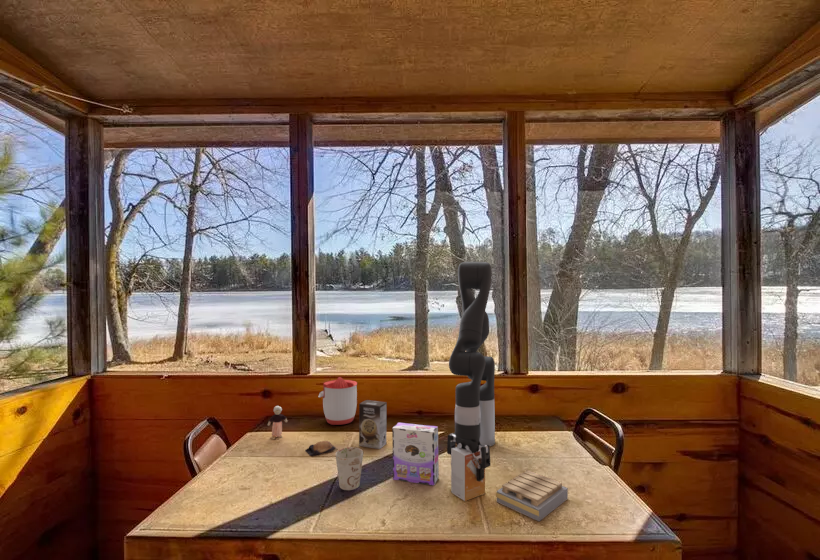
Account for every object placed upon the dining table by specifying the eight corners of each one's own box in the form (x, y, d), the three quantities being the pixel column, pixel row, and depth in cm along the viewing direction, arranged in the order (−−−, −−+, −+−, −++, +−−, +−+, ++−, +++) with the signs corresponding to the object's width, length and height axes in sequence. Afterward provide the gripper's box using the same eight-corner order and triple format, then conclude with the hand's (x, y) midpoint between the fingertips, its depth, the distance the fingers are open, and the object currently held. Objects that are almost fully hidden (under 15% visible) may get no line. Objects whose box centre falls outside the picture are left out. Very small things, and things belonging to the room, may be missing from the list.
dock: (495, 501, 112) (495, 491, 112) (526, 482, 123) (526, 472, 123) (538, 521, 103) (538, 510, 103) (567, 498, 114) (567, 488, 114)
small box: (465, 502, 112) (464, 455, 112) (450, 492, 117) (450, 448, 118) (486, 493, 117) (485, 449, 117) (471, 484, 122) (470, 442, 122)
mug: (340, 495, 116) (340, 460, 117) (328, 477, 127) (328, 445, 128) (367, 488, 120) (367, 454, 120) (353, 471, 131) (353, 440, 132)
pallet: (501, 491, 112) (501, 485, 112) (527, 474, 122) (527, 469, 122) (537, 506, 104) (537, 500, 104) (562, 487, 114) (562, 482, 114)
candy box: (439, 477, 127) (438, 425, 127) (434, 486, 121) (433, 432, 121) (398, 471, 131) (398, 421, 131) (392, 479, 125) (391, 427, 126)
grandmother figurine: (270, 440, 158) (270, 408, 158) (266, 438, 161) (266, 406, 161) (288, 436, 163) (288, 404, 163) (285, 433, 166) (285, 402, 166)
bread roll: (328, 444, 155) (328, 435, 155) (339, 451, 149) (339, 441, 149) (303, 451, 149) (303, 441, 149) (312, 459, 142) (312, 448, 142)
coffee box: (358, 446, 152) (358, 403, 152) (366, 440, 158) (366, 399, 158) (379, 449, 149) (379, 406, 149) (387, 443, 155) (387, 401, 155)
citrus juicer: (318, 417, 186) (318, 374, 186) (355, 414, 190) (355, 372, 190) (318, 429, 170) (318, 382, 171) (359, 425, 175) (359, 379, 175)
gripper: (441, 417, 120) (441, 471, 120) (479, 429, 110) (480, 488, 109) (457, 411, 125) (457, 463, 125) (495, 422, 115) (496, 479, 114)
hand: (468, 475), depth 117 cm, fingers open, 8 cm apart
